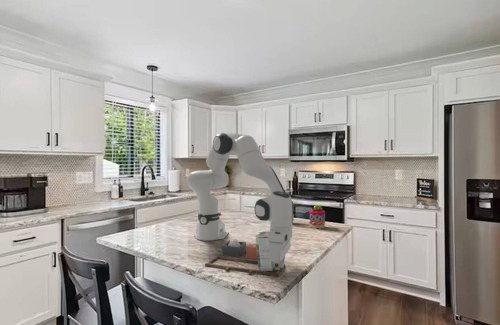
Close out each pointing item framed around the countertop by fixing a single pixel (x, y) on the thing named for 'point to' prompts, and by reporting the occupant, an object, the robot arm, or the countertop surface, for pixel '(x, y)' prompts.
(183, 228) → the countertop surface
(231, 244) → the popper dome
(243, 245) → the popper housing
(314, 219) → the potted succulent
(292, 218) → the house plant
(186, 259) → the countertop surface
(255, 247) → the die
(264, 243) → the syrup box
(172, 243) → the countertop surface
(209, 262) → the frame
